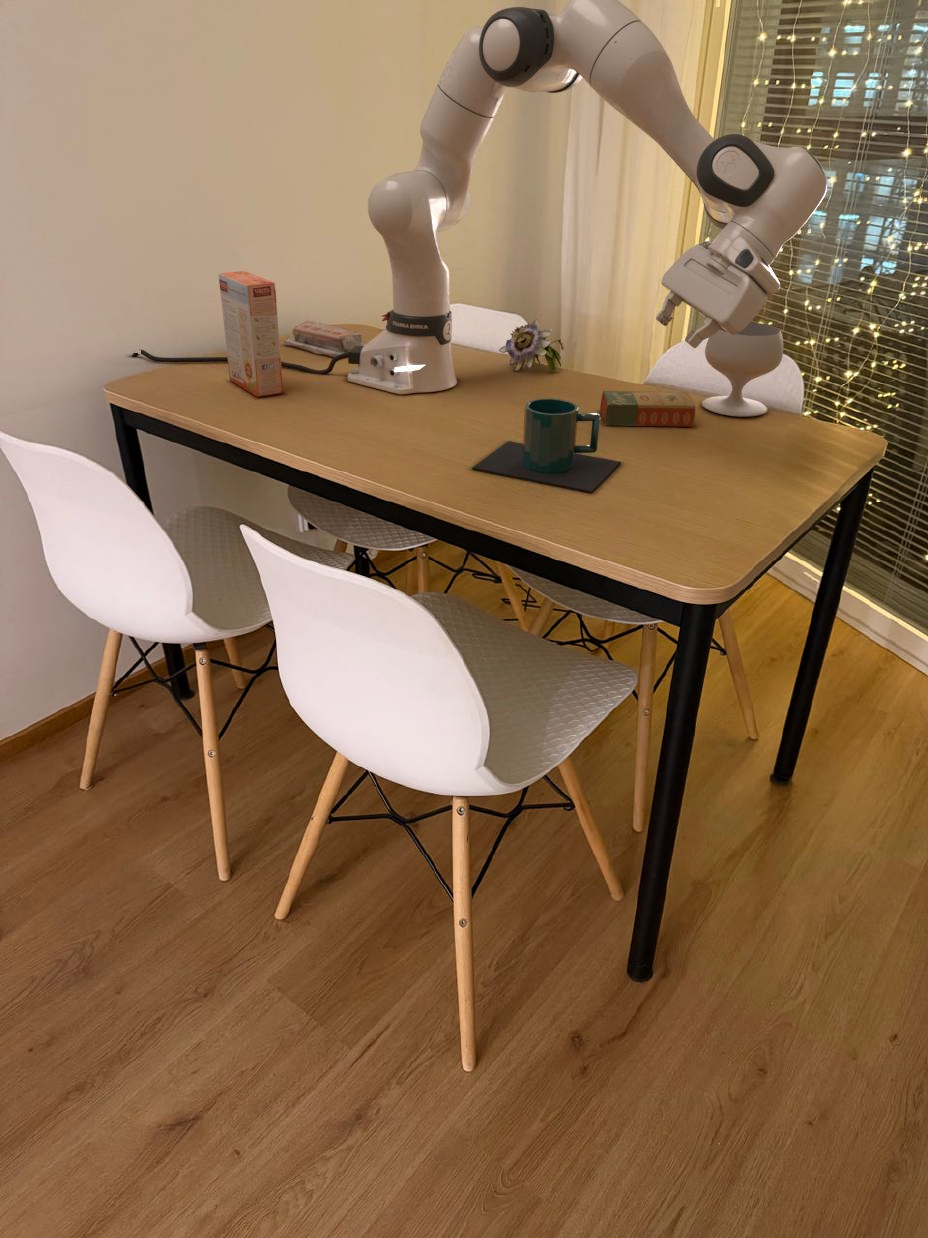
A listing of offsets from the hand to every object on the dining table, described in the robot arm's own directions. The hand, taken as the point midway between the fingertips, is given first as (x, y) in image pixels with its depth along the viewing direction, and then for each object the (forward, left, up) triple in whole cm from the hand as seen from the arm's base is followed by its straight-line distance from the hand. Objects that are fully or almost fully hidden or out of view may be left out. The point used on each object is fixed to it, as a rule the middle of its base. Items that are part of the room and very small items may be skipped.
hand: (674, 333), depth 141 cm
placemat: (-14, -13, -20) cm, 28 cm away
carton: (-7, +18, -20) cm, 28 cm away
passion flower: (-39, +40, -20) cm, 60 cm away
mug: (-13, -12, -20) cm, 26 cm away
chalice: (+6, +33, -20) cm, 39 cm away
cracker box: (-81, -1, -20) cm, 84 cm away
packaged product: (-86, +31, -20) cm, 94 cm away
